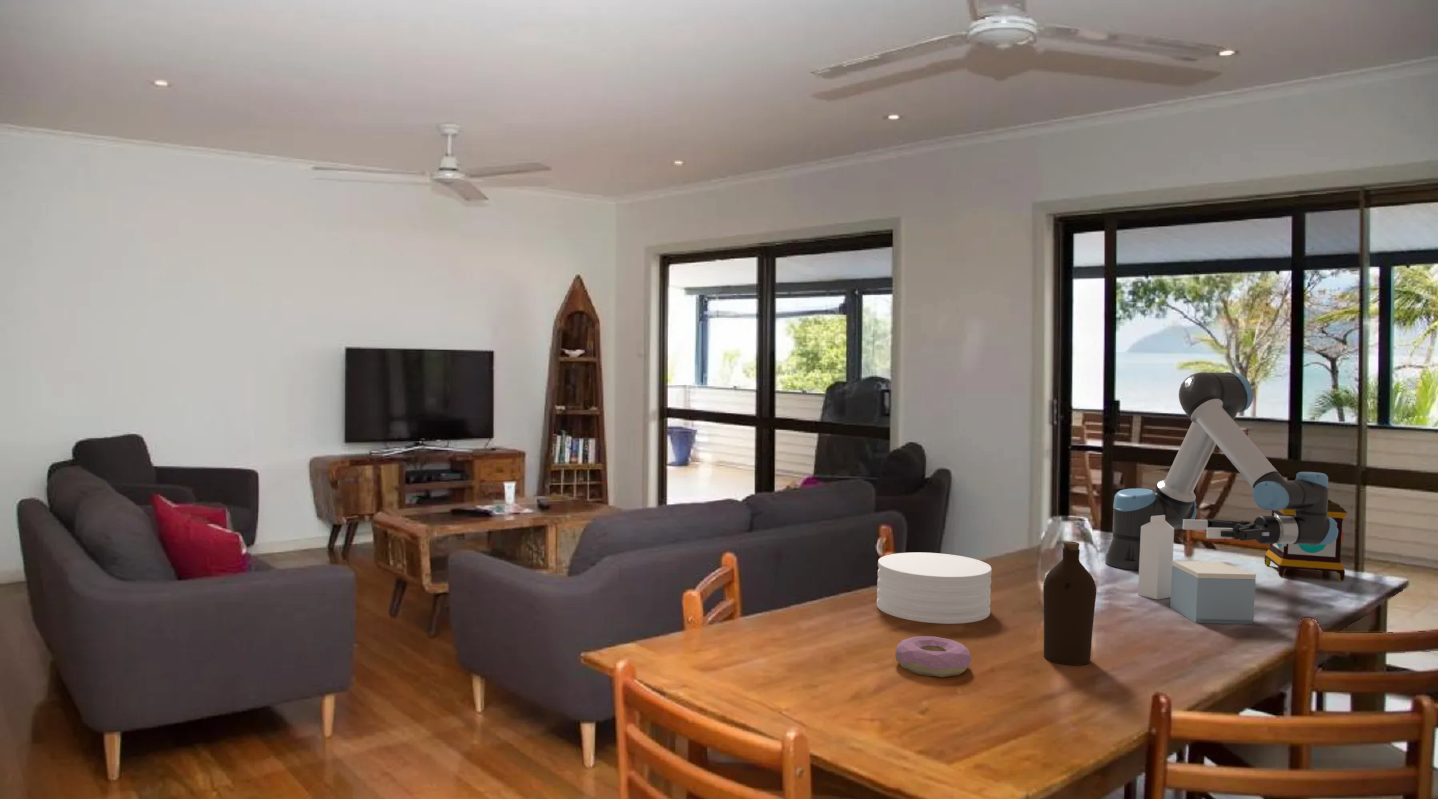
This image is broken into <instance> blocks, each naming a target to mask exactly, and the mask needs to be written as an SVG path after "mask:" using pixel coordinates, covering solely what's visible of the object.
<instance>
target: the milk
mask: <svg viewBox="0 0 1438 799" xmlns="http://www.w3.org/2000/svg"><path fill="white" fill-rule="evenodd" d="M1174 539H1175V530H1174V528H1173V527H1172V526H1171V525H1170V524H1169V523H1167V522H1166V521H1165V515H1159V516H1151V521H1150V522H1149V523H1147V524H1145V525H1143V526H1141V536H1140V558H1139V570H1138V583H1137V585H1138V586H1137V595H1138V596H1141V597H1144V598H1145V597H1146V598H1149V599H1152V600H1162V599H1163V600H1164V599H1168V598H1170V599H1171V580H1172V561H1174V559H1173V558H1174V541H1175V540H1174Z"/></svg>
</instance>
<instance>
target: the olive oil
mask: <svg viewBox="0 0 1438 799" xmlns="http://www.w3.org/2000/svg"><path fill="white" fill-rule="evenodd" d="M1080 551H1081V550H1080V543H1079V542H1077V541H1069V540H1068V541H1063V548H1062V559H1061V560H1060V561H1059V562H1058V563H1057V564H1056V565H1054V567H1053V568H1051V569H1050V570H1049V571H1048V572H1047V574H1046V576H1045V578H1044V581H1043V586H1042V590H1043V592H1042V595H1043V597H1042V598H1043V657H1044V658H1045V659H1046V660H1048V661H1050V662H1053V663H1055V664H1061V665H1065V666H1066V665H1067V666H1082V665H1083V666H1084V665H1087V664H1089V663H1090V662H1091V657H1092V656H1091V655H1092V644H1093V642H1092V641H1093V630H1094V629H1093V628H1094V617H1095V610H1096V609H1095V607H1096V601H1097V600H1096V599H1097V598H1096V597H1097V585H1096V581H1095V580H1094V577H1093V575H1092V574H1091V573H1090V571H1088V569H1086V568H1085V566H1084V565H1083V564H1082V563H1081V561H1080V553H1081V552H1080Z"/></svg>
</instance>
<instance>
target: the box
mask: <svg viewBox="0 0 1438 799" xmlns="http://www.w3.org/2000/svg"><path fill="white" fill-rule="evenodd" d="M1256 582H1257V581H1256V579H1218V578H1197V577H1195V576H1193V575H1191V574H1189V573H1187V572H1185V571H1183V570H1181V569H1179V568H1177V567H1174V566H1172V580H1171V597H1170V604H1169V606H1170V609H1172V610H1173V611H1175V612H1177V613H1178V614H1180V615H1182V616H1183V617H1185V618H1187V619H1188V620H1190V621H1192V622H1194V623H1195V624H1197V623H1198V624H1224V625H1225V624H1226V625H1227V624H1230V625H1231V624H1232V625H1233V624H1234V625H1254V617H1255V616H1254V613H1255V600H1256V599H1255V598H1256V596H1255V595H1256Z"/></svg>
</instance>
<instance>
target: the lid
mask: <svg viewBox="0 0 1438 799" xmlns="http://www.w3.org/2000/svg"><path fill="white" fill-rule="evenodd" d="M1172 566H1174V567H1177V568H1179V569H1181V570H1183V571H1185V572H1187V573H1189V574H1191V575H1193V576H1195V577H1197V578H1218V579H1255V580H1256V577H1257V576H1256V573H1254V572H1251V571H1248V570H1246V569H1244V568H1242V567H1240V566H1238V565H1235V564H1233V563H1230V562H1228V561H1206V560H1205V561H1204V560H1203V561H1200V560H1196V561H1192V560H1191V561H1190V560H1173V561H1172Z"/></svg>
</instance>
